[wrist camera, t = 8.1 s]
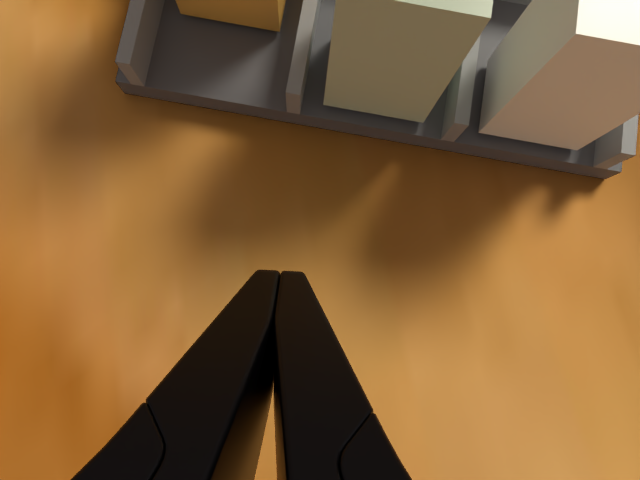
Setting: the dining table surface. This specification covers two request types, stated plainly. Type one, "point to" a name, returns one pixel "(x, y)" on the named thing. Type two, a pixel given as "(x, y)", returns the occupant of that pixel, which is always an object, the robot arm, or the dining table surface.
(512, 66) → the white rectangular block
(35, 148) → the dining table surface
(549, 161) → the grey divided tray
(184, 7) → the orange block
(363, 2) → the pale green tall block
